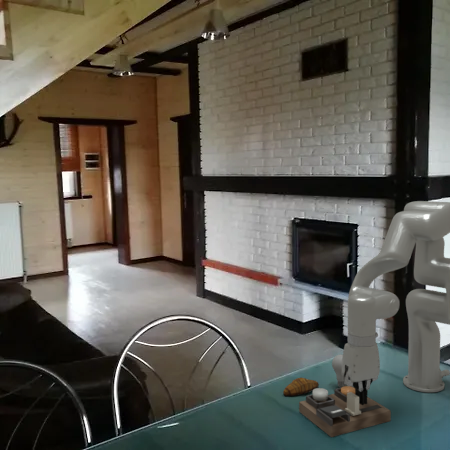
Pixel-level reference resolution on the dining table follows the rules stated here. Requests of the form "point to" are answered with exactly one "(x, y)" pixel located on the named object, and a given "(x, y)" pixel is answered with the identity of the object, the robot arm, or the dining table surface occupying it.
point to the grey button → (320, 394)
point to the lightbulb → (338, 370)
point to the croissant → (300, 387)
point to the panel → (345, 423)
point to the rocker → (333, 411)
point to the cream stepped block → (352, 404)
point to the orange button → (347, 390)
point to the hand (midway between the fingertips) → (361, 402)
